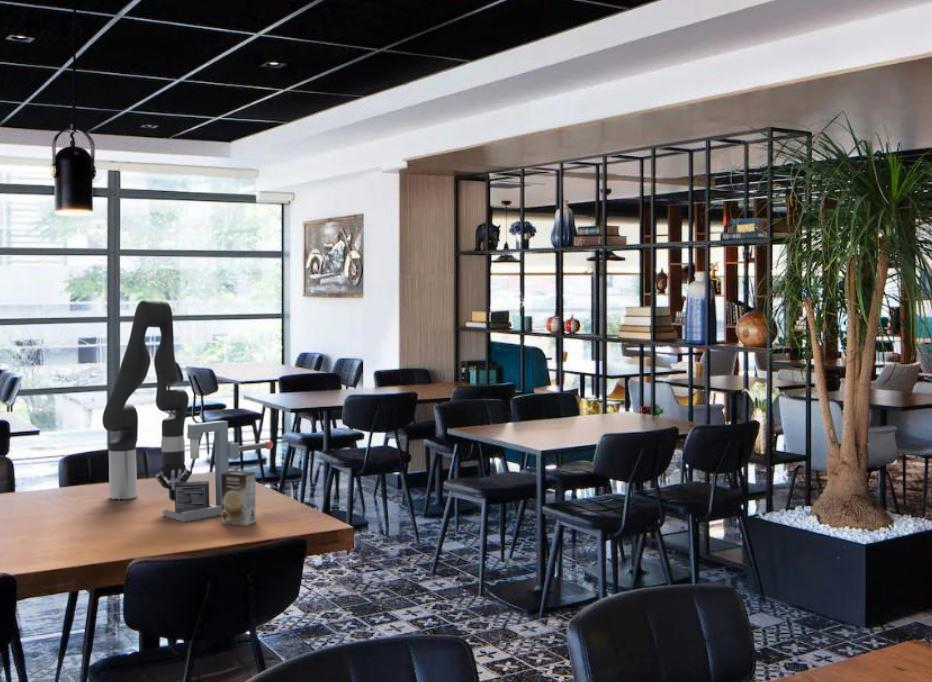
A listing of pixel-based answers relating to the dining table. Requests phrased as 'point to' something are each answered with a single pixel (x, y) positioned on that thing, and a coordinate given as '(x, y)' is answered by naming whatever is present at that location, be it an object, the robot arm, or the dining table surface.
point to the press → (220, 465)
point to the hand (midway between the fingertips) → (173, 500)
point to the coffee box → (238, 497)
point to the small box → (191, 496)
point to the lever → (255, 446)
